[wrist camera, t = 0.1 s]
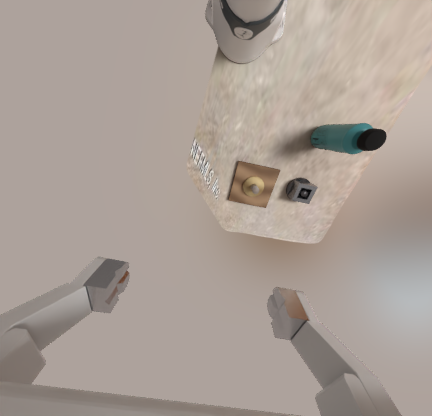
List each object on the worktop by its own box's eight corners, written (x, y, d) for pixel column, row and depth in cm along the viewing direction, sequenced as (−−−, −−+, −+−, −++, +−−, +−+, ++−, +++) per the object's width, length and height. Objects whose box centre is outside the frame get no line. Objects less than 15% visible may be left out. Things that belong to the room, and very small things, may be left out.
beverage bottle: (303, 136, 49) (351, 140, 31) (323, 119, 46) (388, 112, 28) (314, 152, 50) (365, 165, 33) (334, 136, 48) (401, 140, 30)
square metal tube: (294, 179, 54) (299, 183, 50) (311, 183, 54) (317, 187, 51) (287, 195, 56) (291, 200, 53) (303, 199, 57) (308, 203, 53)
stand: (291, 175, 54) (298, 179, 49) (314, 180, 54) (322, 185, 50) (282, 196, 57) (288, 202, 53) (303, 201, 58) (310, 207, 53)
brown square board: (238, 160, 52) (240, 164, 47) (279, 169, 53) (285, 174, 48) (228, 199, 58) (229, 206, 53) (264, 206, 59) (269, 214, 54)
